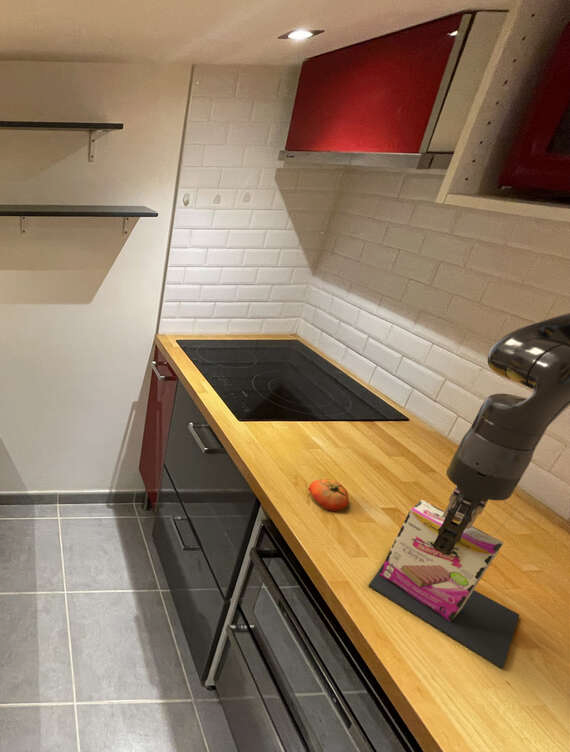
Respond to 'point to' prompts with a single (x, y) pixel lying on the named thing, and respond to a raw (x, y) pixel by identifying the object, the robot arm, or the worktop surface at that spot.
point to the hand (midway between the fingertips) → (445, 542)
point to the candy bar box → (437, 561)
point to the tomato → (329, 494)
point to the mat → (462, 620)
